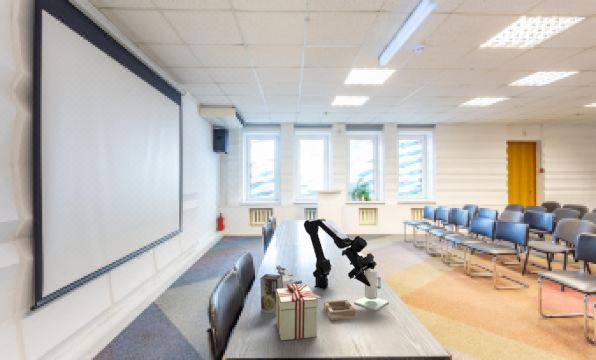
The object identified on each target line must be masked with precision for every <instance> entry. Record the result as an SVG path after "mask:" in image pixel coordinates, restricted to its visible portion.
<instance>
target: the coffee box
mask: <svg viewBox="0 0 596 360" xmlns="http://www.w3.org/2000/svg"><path fill="white" fill-rule="evenodd" d="M259 280H260V281H259V282H260V312H261V313H267V314H268V313H269V314H276V303H277V298H276V289H282V288H283V284H282V275H281V274H269V273H265V274H263V276H261V277H260V278H259Z"/></svg>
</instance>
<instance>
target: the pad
mask: <svg viewBox="0 0 596 360" xmlns="http://www.w3.org/2000/svg"><path fill="white" fill-rule="evenodd" d="M353 303H354V305H357V306H360V307H362V308H363V307H364V308H366V309H369V310H371V311H374V312H376V311H378V310H380V309H381V308H383V307H384V306H386V305H387V304H389V301H388V300H385V299H381V298H379V297H377V299H367V298H365V295H364V296H363V297H361V298H359V299H357V300H355V301H354V302H353Z"/></svg>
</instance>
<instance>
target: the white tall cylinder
mask: <svg viewBox="0 0 596 360" xmlns="http://www.w3.org/2000/svg"><path fill="white" fill-rule="evenodd" d="M364 275H365V277H366V278H367V280H368V282H369V283H370V286H367V285H365V284H364V296H365V298H367V299H377V298H378V289H379V290H380V289H382V276H378V270H377V269H375V268H374V269H366V270H365V271H364Z"/></svg>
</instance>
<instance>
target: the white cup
mask: <svg viewBox="0 0 596 360" xmlns="http://www.w3.org/2000/svg"><path fill="white" fill-rule="evenodd" d="M282 284H283V288H287V287H288V286H287V284H292V277H290V276H282Z"/></svg>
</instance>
